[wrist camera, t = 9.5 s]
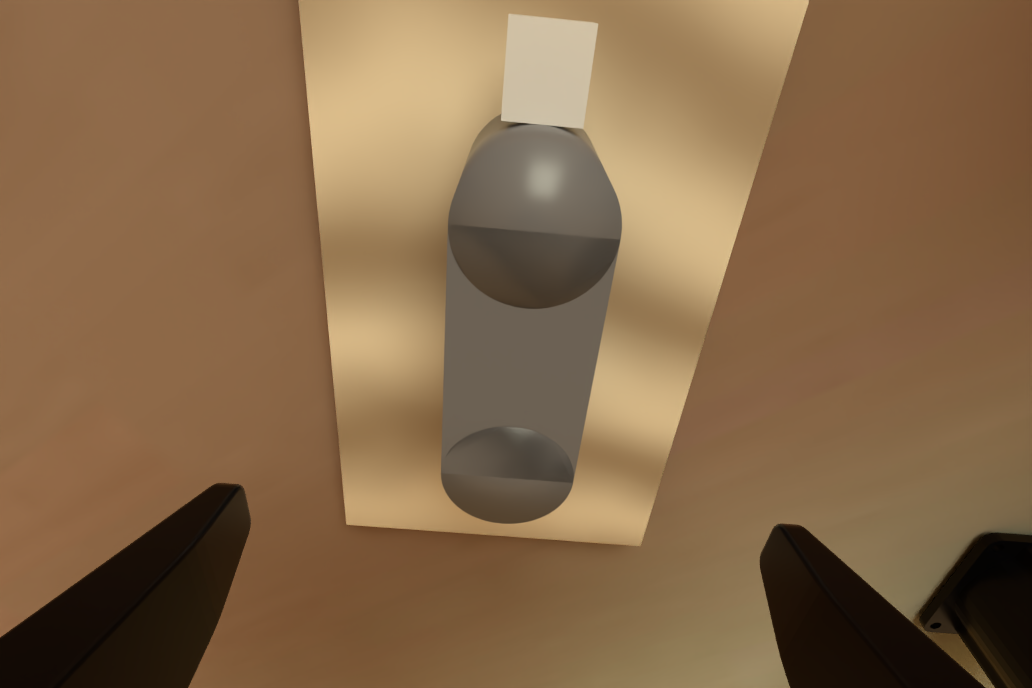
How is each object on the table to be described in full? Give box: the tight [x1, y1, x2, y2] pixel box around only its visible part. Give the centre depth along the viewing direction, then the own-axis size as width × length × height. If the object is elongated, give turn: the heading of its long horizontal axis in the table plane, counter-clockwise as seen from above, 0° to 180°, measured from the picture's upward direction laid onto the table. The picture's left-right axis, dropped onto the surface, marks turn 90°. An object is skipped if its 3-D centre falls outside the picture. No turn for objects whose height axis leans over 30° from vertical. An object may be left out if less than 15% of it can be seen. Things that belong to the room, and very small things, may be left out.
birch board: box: [298, 0, 809, 546], centre depth 18 cm, size 22×12×1 cm, turn 175°
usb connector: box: [441, 14, 622, 524], centre depth 15 cm, size 13×4×4 cm, turn 175°
